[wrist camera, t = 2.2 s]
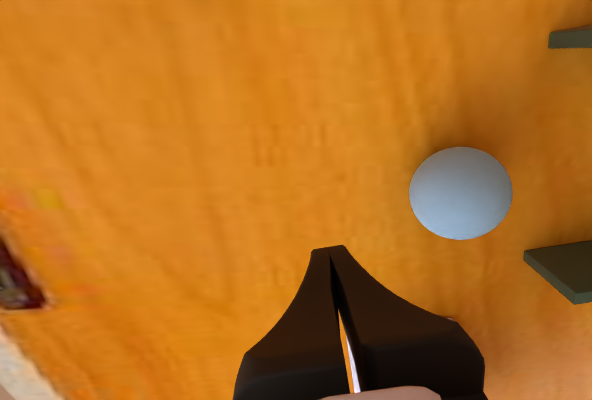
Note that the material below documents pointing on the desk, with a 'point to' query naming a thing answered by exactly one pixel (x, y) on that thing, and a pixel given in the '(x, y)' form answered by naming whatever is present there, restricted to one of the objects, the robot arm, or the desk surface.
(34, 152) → the desk surface
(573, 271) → the box
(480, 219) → the ball
